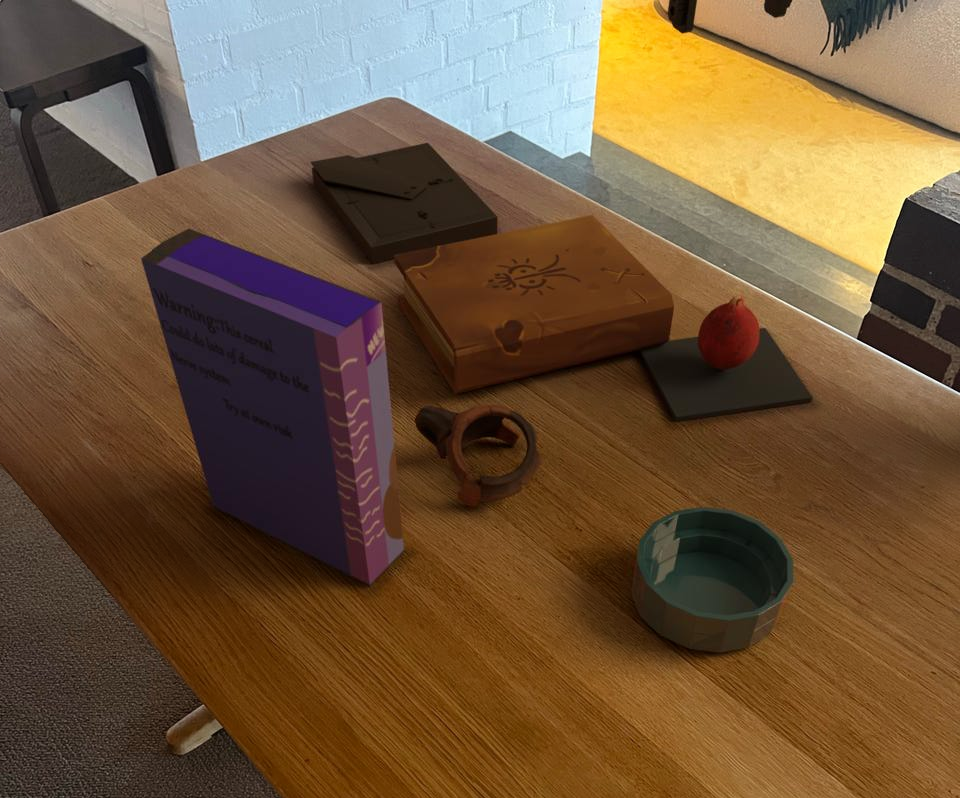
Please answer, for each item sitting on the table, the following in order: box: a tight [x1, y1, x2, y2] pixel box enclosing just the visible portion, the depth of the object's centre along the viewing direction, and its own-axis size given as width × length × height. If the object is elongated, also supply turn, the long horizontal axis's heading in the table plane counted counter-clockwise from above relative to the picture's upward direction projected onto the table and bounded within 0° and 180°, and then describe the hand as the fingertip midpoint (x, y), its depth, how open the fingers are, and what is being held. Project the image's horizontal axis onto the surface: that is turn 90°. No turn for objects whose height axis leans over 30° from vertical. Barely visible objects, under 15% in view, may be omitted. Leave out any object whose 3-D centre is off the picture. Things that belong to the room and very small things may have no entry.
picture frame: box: [310, 142, 498, 265], centre depth 120 cm, size 16×3×21 cm
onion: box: [697, 294, 760, 370], centre depth 96 cm, size 6×6×8 cm
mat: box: [637, 327, 814, 422], centre depth 99 cm, size 14×12×1 cm
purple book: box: [140, 228, 405, 587], centre depth 77 cm, size 17×5×24 cm, turn 57°
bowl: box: [630, 506, 795, 653], centre depth 79 cm, size 12×12×4 cm
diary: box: [393, 214, 675, 395], centre depth 102 cm, size 23×19×6 cm
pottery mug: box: [414, 404, 544, 508], centre depth 88 cm, size 12×10×8 cm
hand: (728, 21), depth 80 cm, fingers open, 8 cm apart
